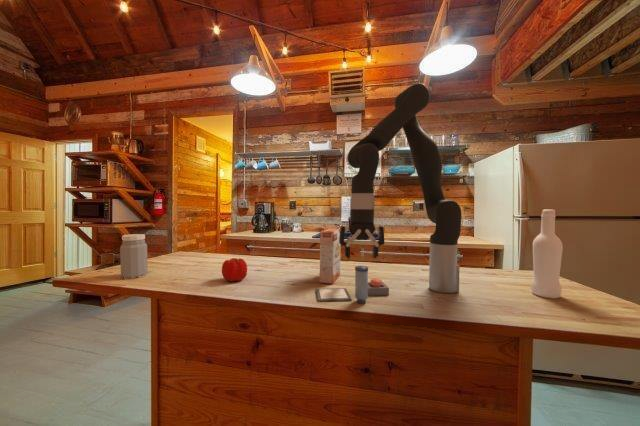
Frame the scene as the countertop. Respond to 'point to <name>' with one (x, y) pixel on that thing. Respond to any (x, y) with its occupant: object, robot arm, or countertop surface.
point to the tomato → (234, 269)
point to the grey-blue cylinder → (361, 284)
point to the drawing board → (333, 295)
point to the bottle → (547, 258)
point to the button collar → (378, 290)
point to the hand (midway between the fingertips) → (361, 258)
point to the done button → (376, 283)
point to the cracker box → (329, 255)
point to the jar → (133, 256)
